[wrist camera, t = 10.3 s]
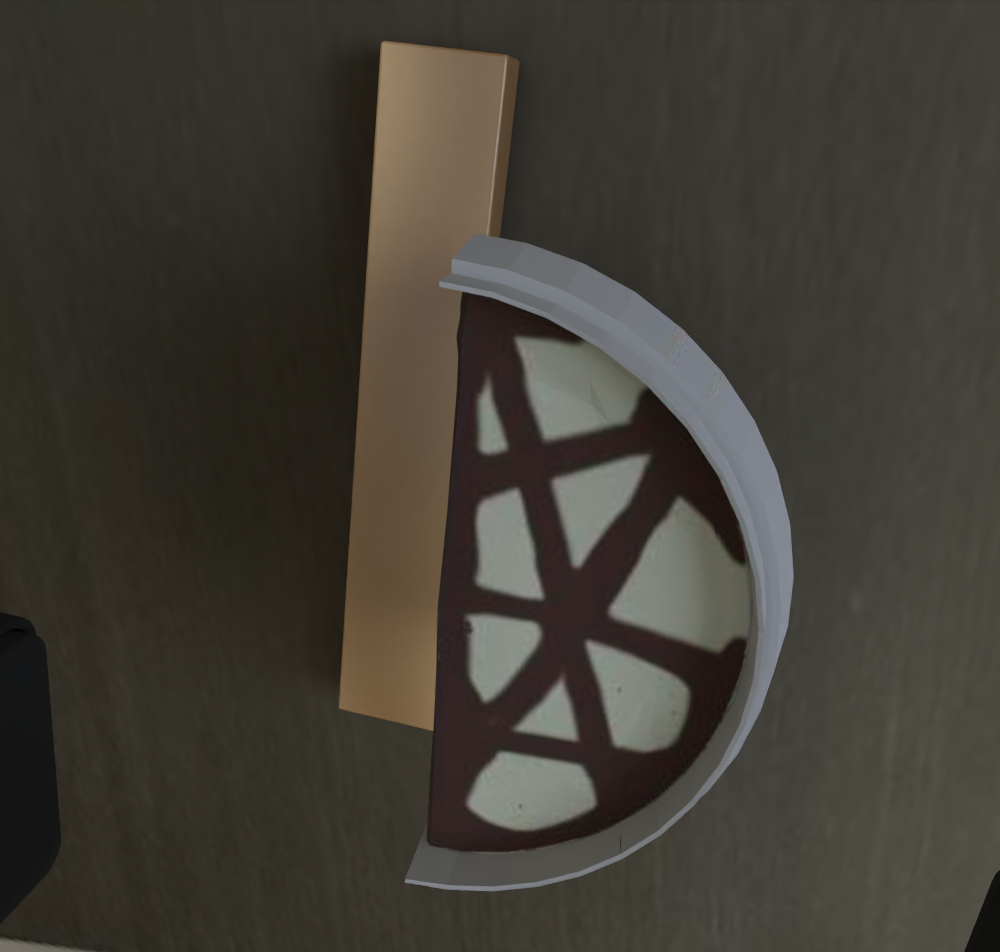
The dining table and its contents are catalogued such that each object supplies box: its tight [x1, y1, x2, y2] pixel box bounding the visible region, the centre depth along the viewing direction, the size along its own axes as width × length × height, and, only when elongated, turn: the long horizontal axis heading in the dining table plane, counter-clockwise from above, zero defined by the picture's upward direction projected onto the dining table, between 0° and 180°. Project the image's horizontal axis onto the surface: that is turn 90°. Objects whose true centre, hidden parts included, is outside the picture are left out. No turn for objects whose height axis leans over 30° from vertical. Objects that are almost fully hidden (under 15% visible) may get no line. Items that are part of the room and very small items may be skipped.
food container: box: [405, 233, 794, 891], centre depth 20 cm, size 12×6×10 cm, turn 175°
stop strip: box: [339, 41, 519, 731], centre depth 24 cm, size 3×18×1 cm, turn 173°
